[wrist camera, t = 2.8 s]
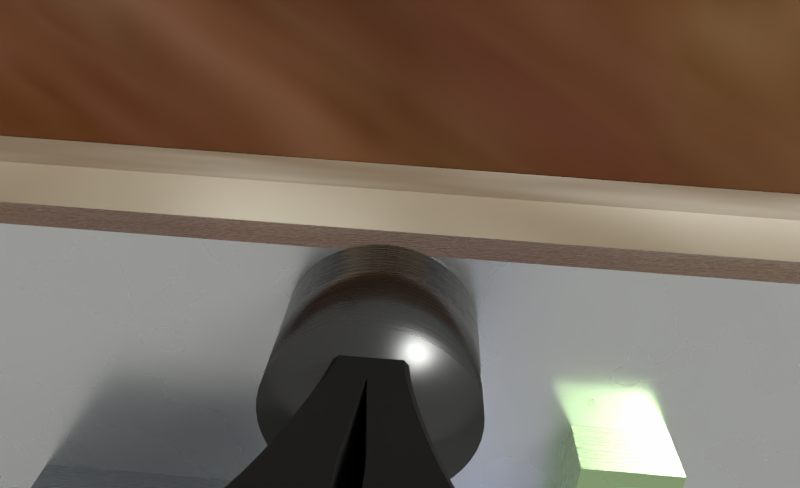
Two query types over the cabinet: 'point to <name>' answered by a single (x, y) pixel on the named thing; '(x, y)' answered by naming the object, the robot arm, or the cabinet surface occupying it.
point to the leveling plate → (545, 358)
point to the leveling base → (401, 198)
